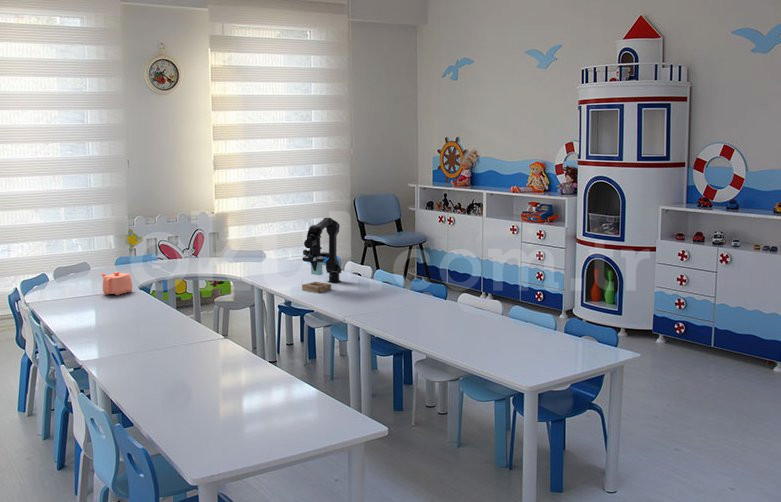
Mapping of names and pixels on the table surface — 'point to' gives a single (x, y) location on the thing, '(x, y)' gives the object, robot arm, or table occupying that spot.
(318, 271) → the bracket
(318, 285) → the well block
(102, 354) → the table surface
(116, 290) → the teapot
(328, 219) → the robot arm
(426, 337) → the table surface
